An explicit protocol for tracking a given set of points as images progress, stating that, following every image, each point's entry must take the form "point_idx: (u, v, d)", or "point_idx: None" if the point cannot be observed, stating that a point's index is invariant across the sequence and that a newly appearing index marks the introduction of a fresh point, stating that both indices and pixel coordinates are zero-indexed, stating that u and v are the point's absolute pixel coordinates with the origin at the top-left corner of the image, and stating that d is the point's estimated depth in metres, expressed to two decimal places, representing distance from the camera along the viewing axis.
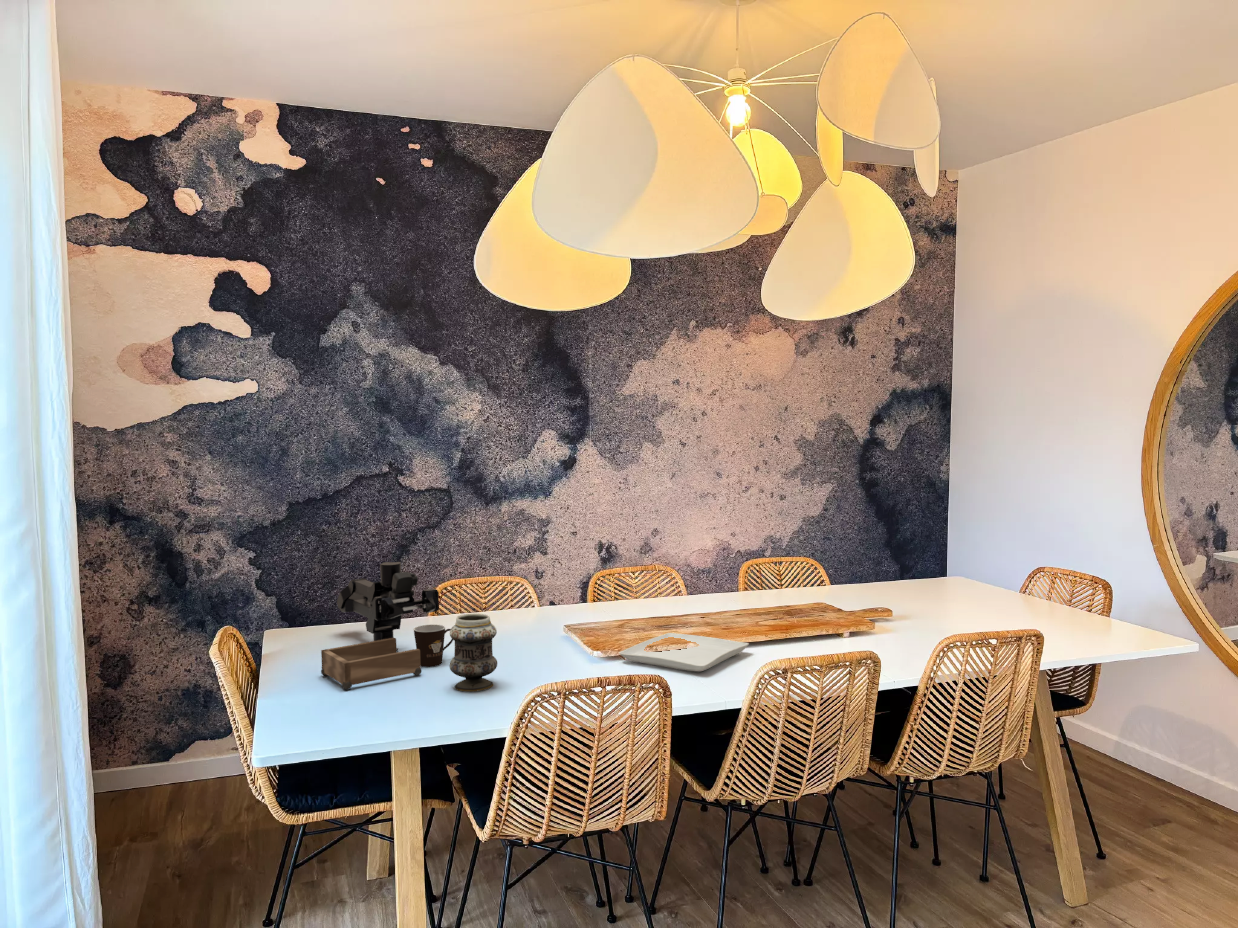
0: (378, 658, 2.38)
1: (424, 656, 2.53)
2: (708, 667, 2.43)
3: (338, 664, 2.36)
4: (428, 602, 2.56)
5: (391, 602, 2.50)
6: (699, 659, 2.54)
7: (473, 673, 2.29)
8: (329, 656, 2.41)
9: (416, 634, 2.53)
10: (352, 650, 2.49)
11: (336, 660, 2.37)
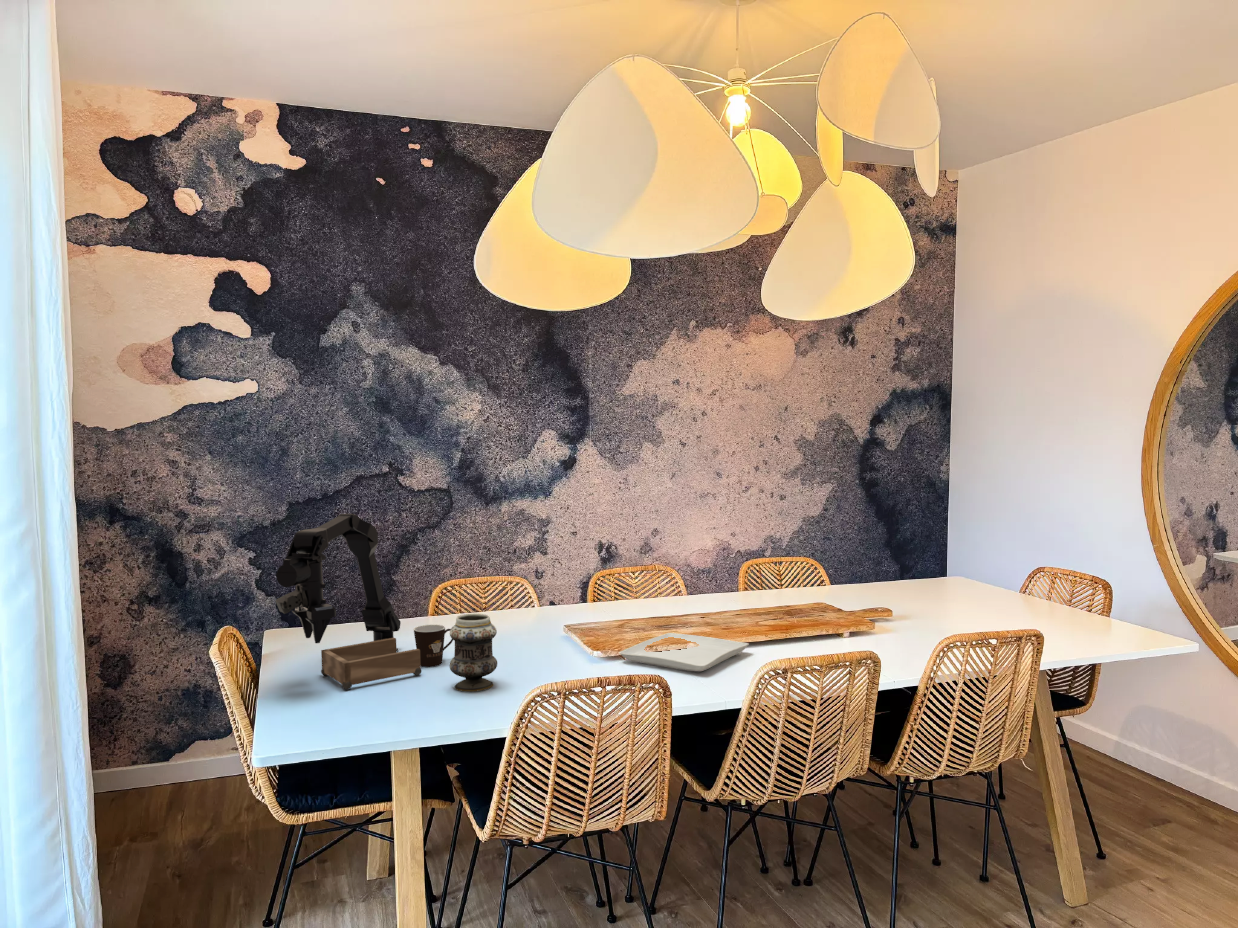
0: (378, 658, 2.38)
1: (424, 656, 2.53)
2: (708, 667, 2.43)
3: (338, 664, 2.36)
4: None
5: (299, 617, 2.38)
6: (699, 659, 2.54)
7: (473, 673, 2.29)
8: (329, 656, 2.41)
9: (416, 634, 2.53)
10: (352, 650, 2.49)
11: (336, 660, 2.37)
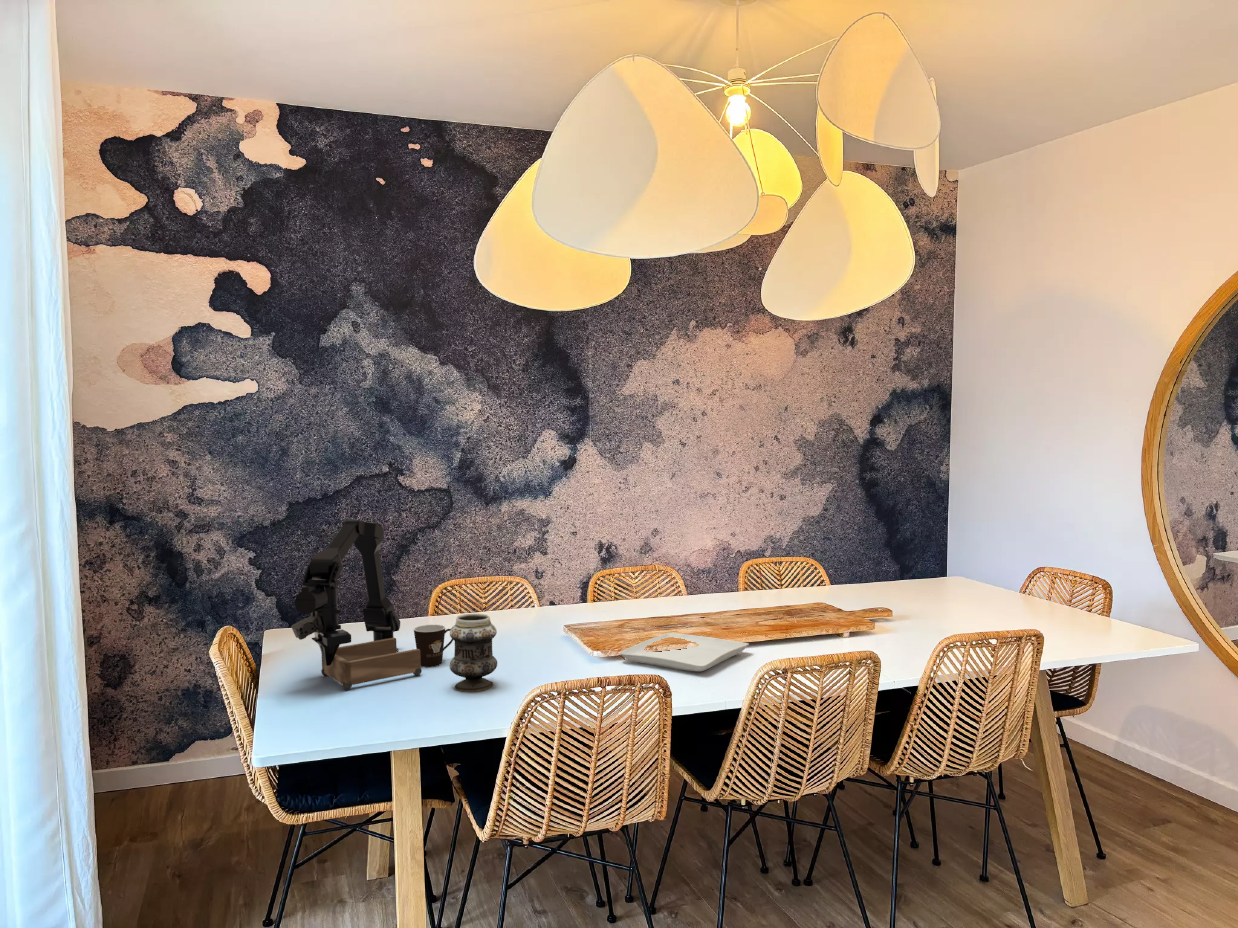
0: (378, 658, 2.38)
1: (424, 656, 2.53)
2: (708, 667, 2.43)
3: (338, 664, 2.36)
4: None
5: (319, 644, 2.38)
6: (699, 659, 2.54)
7: (473, 673, 2.29)
8: None
9: (416, 634, 2.53)
10: (352, 650, 2.49)
11: (336, 660, 2.37)
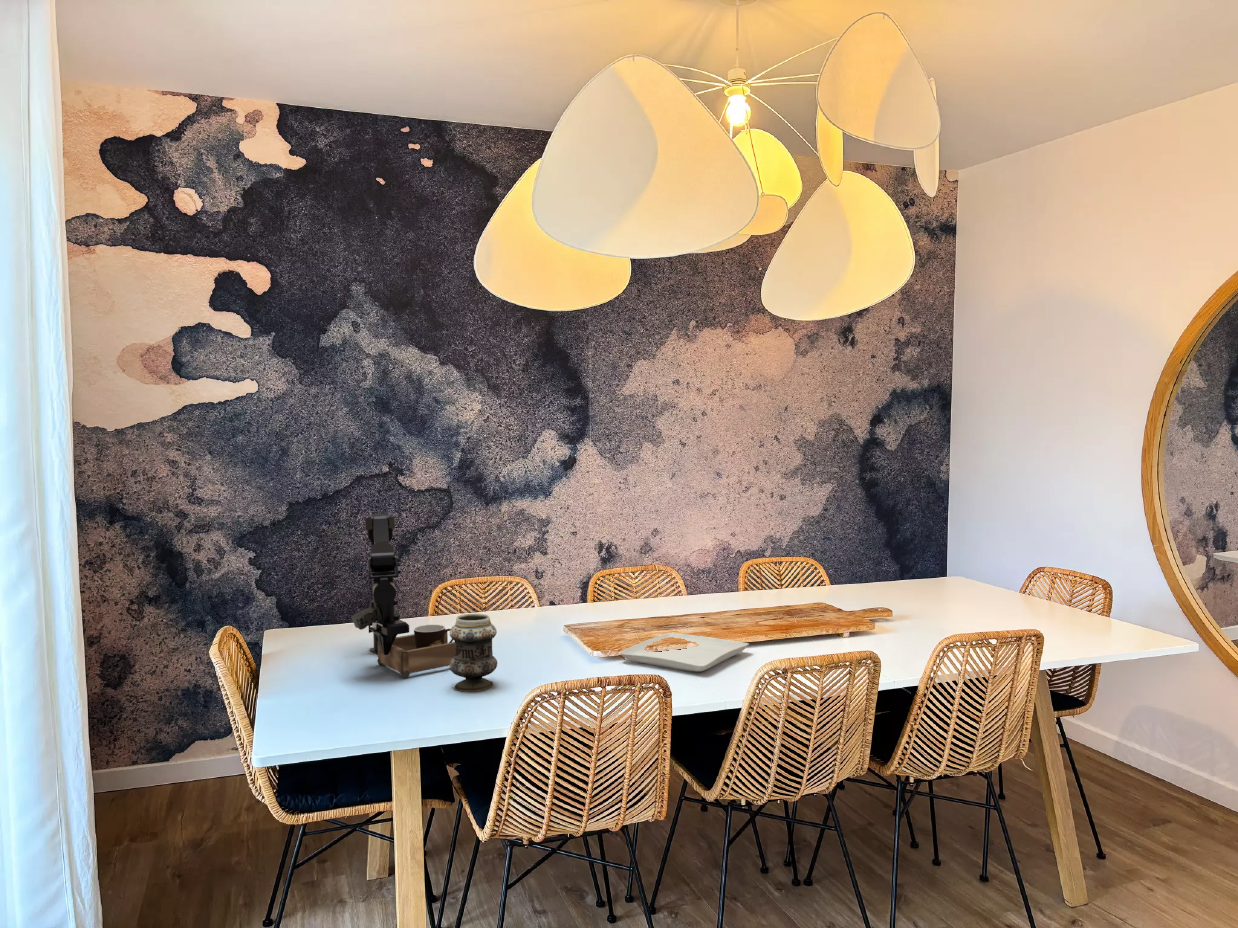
0: (434, 648, 2.47)
1: None
2: (708, 667, 2.43)
3: (396, 654, 2.45)
4: None
5: (377, 634, 2.47)
6: (699, 659, 2.54)
7: (473, 673, 2.29)
8: None
9: (416, 634, 2.53)
10: (406, 640, 2.59)
11: (394, 650, 2.46)
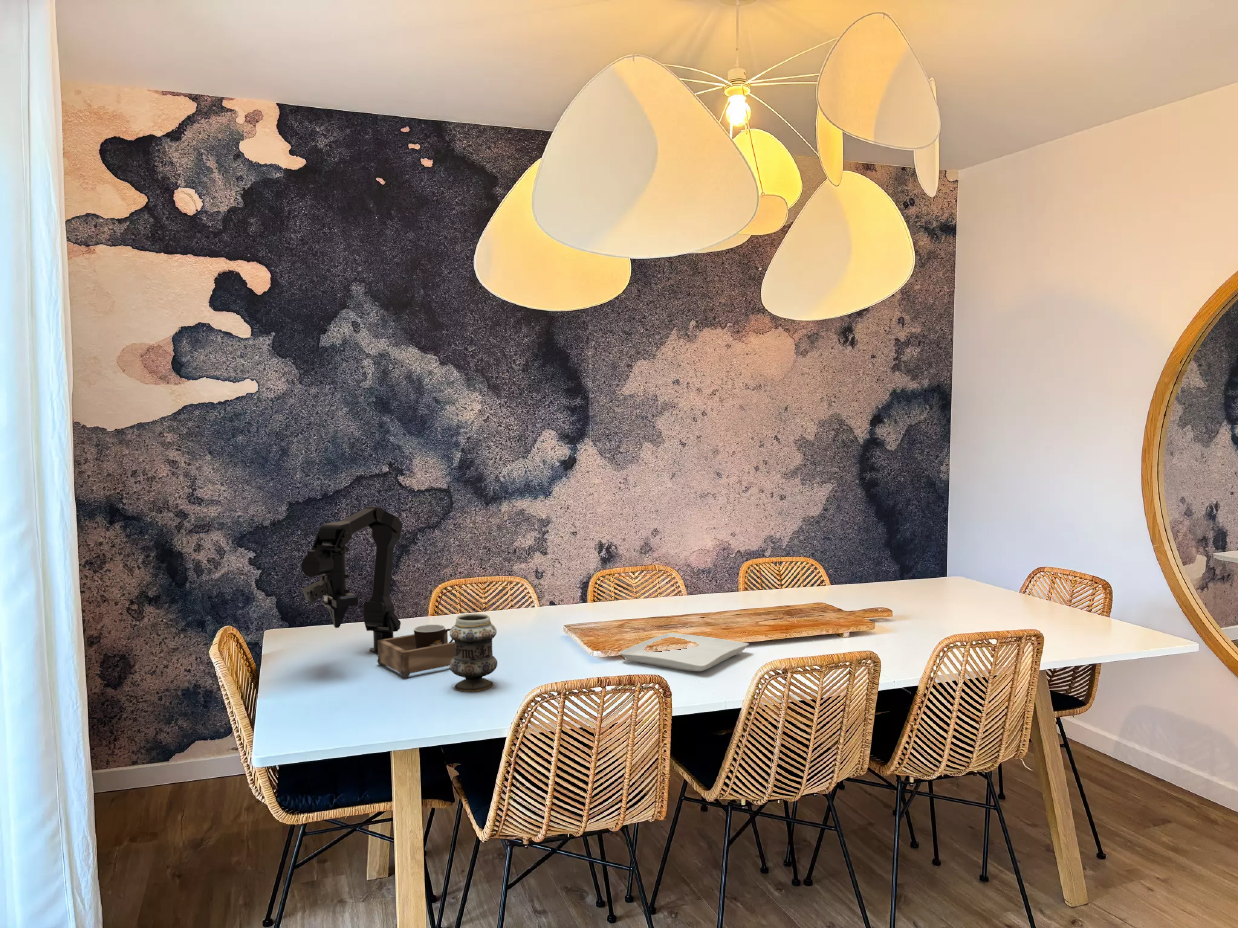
0: (434, 648, 2.47)
1: None
2: (708, 667, 2.43)
3: (396, 654, 2.45)
4: None
5: (328, 607, 2.49)
6: (699, 659, 2.54)
7: (473, 673, 2.29)
8: (386, 646, 2.50)
9: (416, 634, 2.53)
10: (406, 640, 2.59)
11: (394, 650, 2.46)
